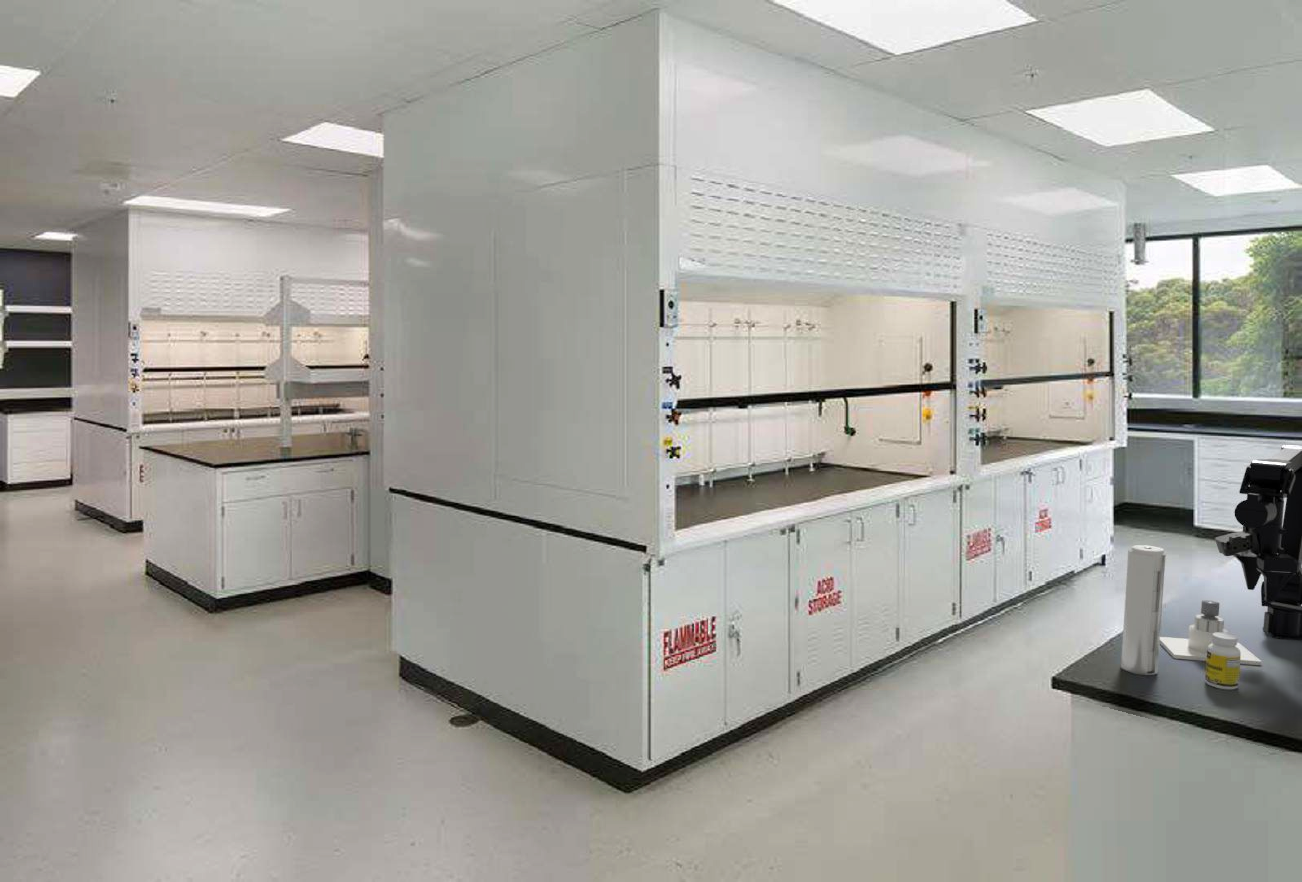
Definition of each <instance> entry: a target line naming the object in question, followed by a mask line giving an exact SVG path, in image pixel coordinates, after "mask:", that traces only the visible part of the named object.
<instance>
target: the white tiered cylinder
mask: <svg viewBox="0 0 1302 882" xmlns="http://www.w3.org/2000/svg"><path fill="white" fill-rule="evenodd" d="M1224 624H1225V619H1224V618H1223V617H1220V616H1215V620H1208V619H1204V614H1201V613H1200V614H1195V615H1194V624H1190V625H1189V627H1188V638H1187V639H1188V647H1189V648H1191V649H1193V650H1195V651H1199V652H1203V653H1207V648H1208V646H1209V645H1210V644H1212V643H1214V642H1213V641H1212V636H1213V633H1216V632H1221V633H1228V634H1229V631H1228V630H1227V629H1225V628H1224V627H1225V626H1224Z"/></svg>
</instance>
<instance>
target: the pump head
mask: <svg viewBox="0 0 1302 882" xmlns="http://www.w3.org/2000/svg"><path fill="white" fill-rule="evenodd" d="M1201 614H1204V619H1208V620H1215V616H1218V617H1220V616H1219V614H1220V603H1219V602H1217V601H1214V600H1206V599H1205V600H1201V607H1200V615H1201Z"/></svg>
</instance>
